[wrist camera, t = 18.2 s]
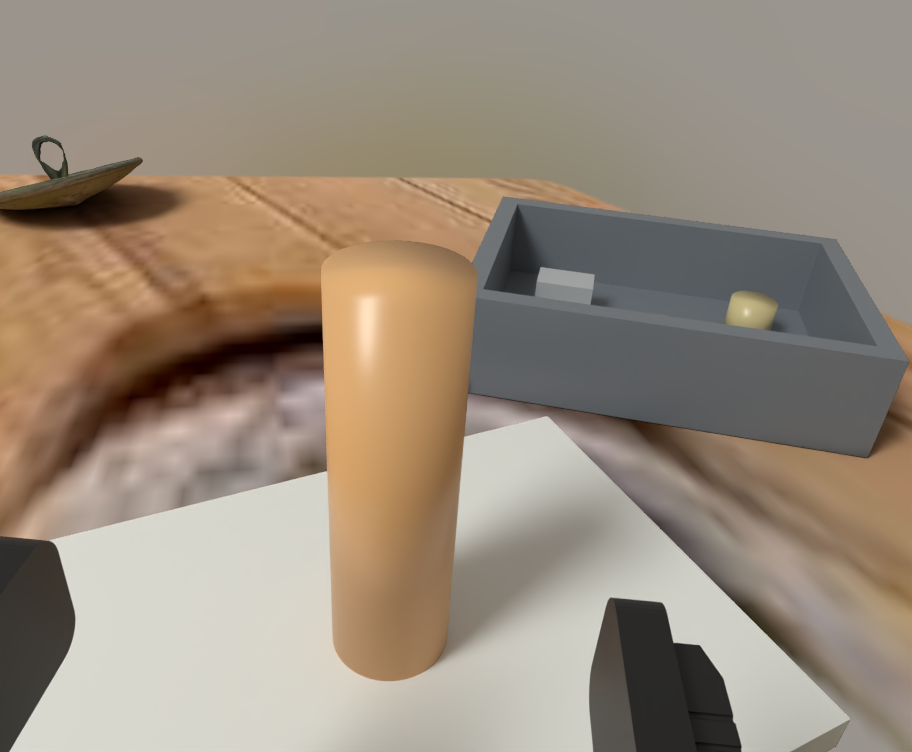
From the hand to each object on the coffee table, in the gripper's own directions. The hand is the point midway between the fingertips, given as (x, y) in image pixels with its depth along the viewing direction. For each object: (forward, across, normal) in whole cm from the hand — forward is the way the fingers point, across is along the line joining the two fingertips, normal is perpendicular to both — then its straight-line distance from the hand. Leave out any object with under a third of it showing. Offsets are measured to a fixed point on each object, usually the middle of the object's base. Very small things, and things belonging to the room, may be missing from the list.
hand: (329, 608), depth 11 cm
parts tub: (+29, -11, +11) cm, 33 cm away
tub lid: (+7, 0, +11) cm, 13 cm away
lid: (+42, +27, +11) cm, 51 cm away
